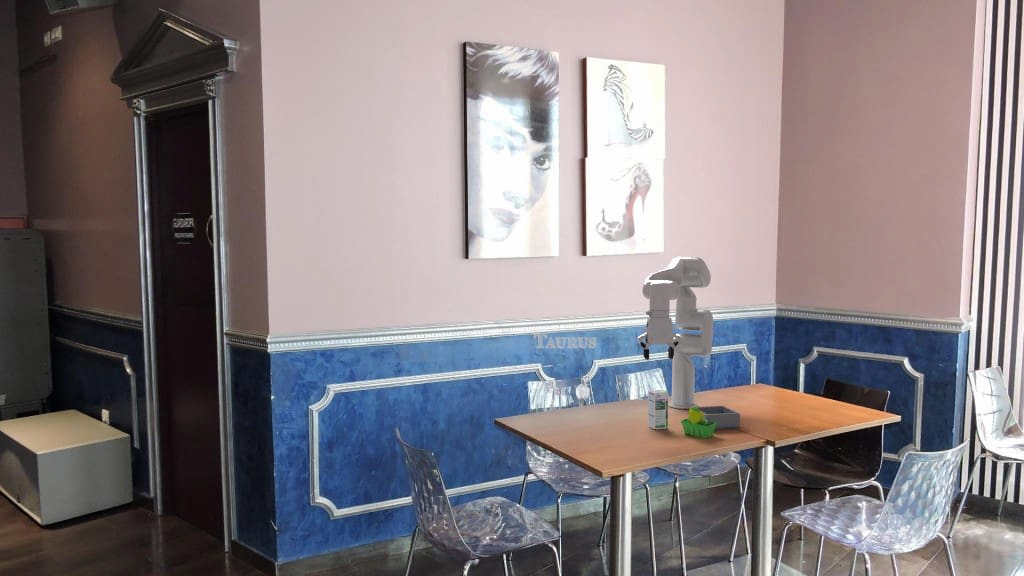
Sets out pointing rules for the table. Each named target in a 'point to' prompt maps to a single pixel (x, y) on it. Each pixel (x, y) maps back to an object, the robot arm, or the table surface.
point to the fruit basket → (698, 424)
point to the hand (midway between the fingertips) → (658, 358)
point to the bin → (721, 417)
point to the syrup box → (658, 409)
